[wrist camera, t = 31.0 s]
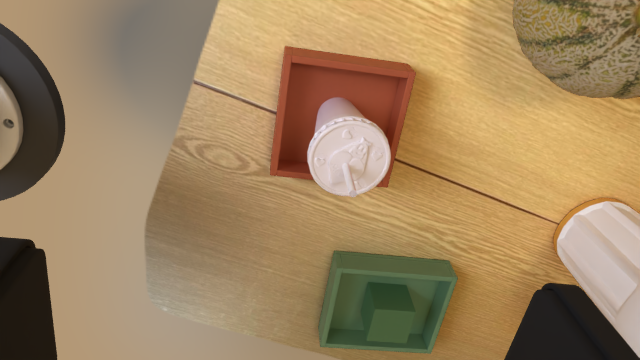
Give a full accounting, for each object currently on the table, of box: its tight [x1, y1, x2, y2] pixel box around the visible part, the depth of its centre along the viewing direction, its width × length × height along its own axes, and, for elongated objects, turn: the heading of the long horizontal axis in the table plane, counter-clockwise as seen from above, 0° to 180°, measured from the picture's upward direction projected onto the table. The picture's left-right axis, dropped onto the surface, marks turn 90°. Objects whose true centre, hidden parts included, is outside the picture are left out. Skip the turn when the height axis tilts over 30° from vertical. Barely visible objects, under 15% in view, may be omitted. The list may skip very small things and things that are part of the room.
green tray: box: [318, 251, 458, 354], centre depth 55 cm, size 13×11×3 cm
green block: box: [361, 282, 416, 343], centre depth 54 cm, size 4×4×4 cm
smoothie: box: [307, 97, 391, 197], centre depth 39 cm, size 6×6×14 cm
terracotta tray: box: [270, 46, 416, 188], centre depth 45 cm, size 11×11×3 cm
